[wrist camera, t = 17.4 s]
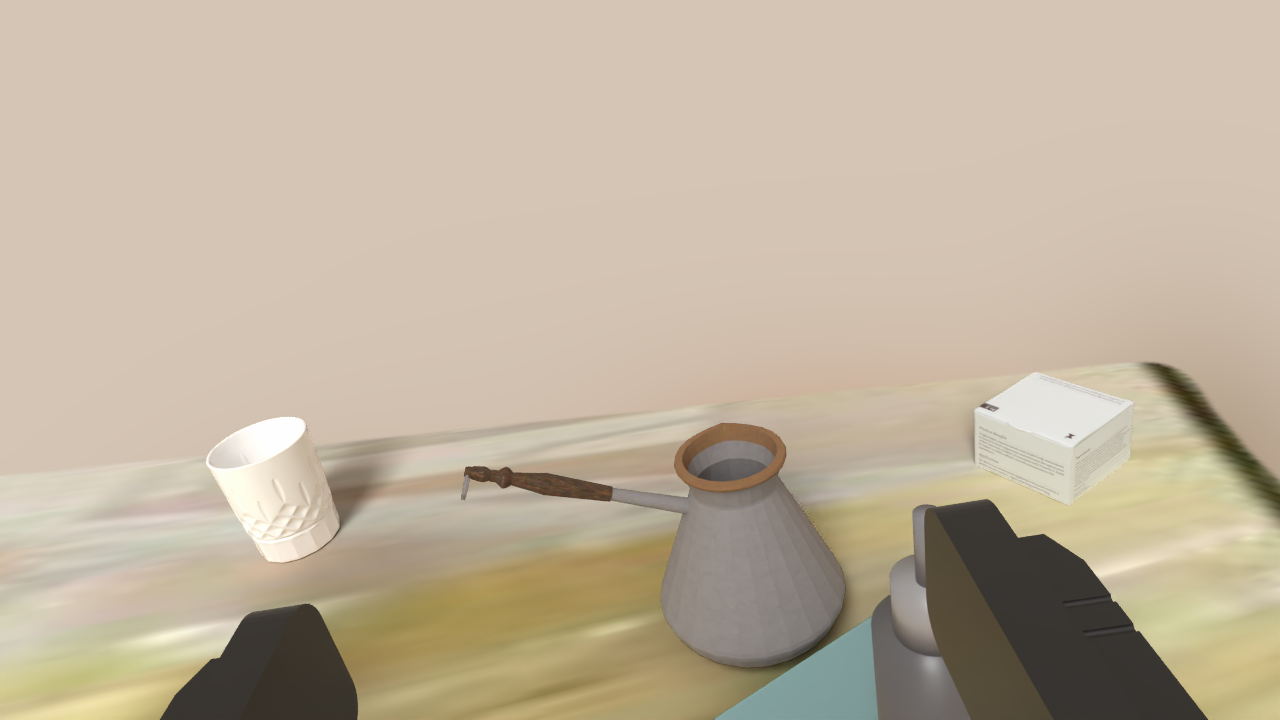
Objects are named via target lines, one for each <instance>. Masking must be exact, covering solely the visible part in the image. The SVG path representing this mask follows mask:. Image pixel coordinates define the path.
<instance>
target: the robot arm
mask: <svg viewBox="0 0 1280 720" xmlns="http://www.w3.org/2000/svg"><path fill="white" fill-rule="evenodd" d="M924 540H925V574H926V602H927V609H928V615H929V620H930V624H931V628H932V632H933V635H934V638H935V641H936V644H937V646H938V649H939V651H940V654H941V656H942V658H943V660H944V662H945V664H946V667H947V669H948V671H949V673H950V675H951V677H952V680H953V682H954V684H955V686H956V688H957V690H958V693H959V695H960V697H961V699H962V701H963V703H964V706H965V708H966V710H967V712H968V714H969V716H970V718H971V720H1208V719H1207V718H1206V716H1205V715H1204V714H1203V712H1202V711H1201V710H1200V709H1199V707H1198V706H1197V705H1196V703H1195V702H1194V701H1193V700H1192V698H1191V697H1190V696H1189V694H1188V693H1187V692H1186V691H1185V689H1184V688H1183V687H1182V685H1181V684H1180V683H1179V682H1178V680H1177V679H1176V678H1175V676H1174V675H1173V674H1172V673H1171V671H1170V670H1169V669H1168V667H1167V666H1166V665H1165V664H1164V662H1163V661H1162V660H1161V658H1160V657H1159V656H1158V655H1157V653H1156V652H1155V651H1154V649H1153V648H1152V647H1151V646H1150V644H1149V643H1148V642H1147V640H1146V639H1145V638H1144V637H1143V635H1142V634H1141V633H1140V632H1139V631H1137V632H1136V631H1135V629H1134V626H1133V623H1132V621H1131V620H1130V619H1129V617H1128V616H1127V615H1126V614H1125V612H1124V611H1123V610H1122V608H1121V607H1120V606H1119V605H1118V603H1117V602H1113V601H1112V599H1111V594H1110V593H1109V592H1108V590H1107V589H1106V588H1105V587H1104V585H1103V584H1102V583H1101V581H1100V580H1099V579H1098V578H1097V576H1096V575H1095V574H1094V572H1093V571H1092V570H1091V569H1090V567H1089V566H1088V565H1087V563H1086V562H1085V561H1084V560H1083V559H1081V558H1080V557H1078V556H1077V555H1075V554H1074V553H1072V552H1071V551H1069V550H1068V549H1066V548H1065V547H1063V546H1061V545H1060V544H1058V543H1057V542H1055V541H1054V540H1052V539H1051V538H1049V537H1048V536H1046V535H1045V534H1040V535H1034V536H1027V537H1021V538H1018V537H1017V536H1016V534H1015V533H1014V532H1013V530H1012V529H1011V527H1010V526H1009V524H1008V523H1007V521H1006V520H1005V519H1004V517H1003V516H1002V514H1001V513H1000V511H999V510H998V508H997V507H996V506H995V505H994V503H992V502H991V501H990V500H987V499H985V500H978V501H972V502H966V503H959V504H953V505H946V506H940V507H934V508H928V509H927V510H926V511H925V515H924ZM357 716H358V702H357V694H356V689H355V685H354V683H353V680H352V678H351V676H350V674H349V672H348V670H347V668H346V666H345V664H344V662H343V660H342V658H341V656H340V654H339V652H338V649H337V647H336V645H335V643H334V641H333V639H332V637H331V635H330V633H329V631H328V629H327V627H326V625H325V623H324V621H323V619H322V617H321V615H320V613H319V611H318V610H317V609H316V608H315V607H314V606H313V605H310V604H302V605H295V606H289V607H282V608H276V609H270V610H263V611H257V612H252V613H250V614H248V615H247V616H246V617H245V618H244V619H243V620H242V621H241V623H240V624H239V626H238V628H237V629H236V631H235V633H234V635H233V636H232V638H231V640H230V641H229V643H228V645H227V646H226V648H225V650H224V652H223V653H222V655H221V657H220V658H216V659H211V660H210V661H209V662H208V663H207V664H206V665H205V666H204V667H203V668H202V669H201V670H200V671H199V672H198V673H197V674H196V675H195V676H194V677H193V678H192V679H191V680H190V681H189V682H188V683H187V684H186V685H185V686H184V687H183V688H182V689H181V690H180V691H179V692H178V693H177V694H176V695H175V696H174V698H173V699H172V701H171V703H170V704H169V706H168V708H167V709H166V711H165V712H164V714H163V716H162V717H161V719H160V720H357Z"/></svg>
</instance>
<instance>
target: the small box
mask: <svg viewBox="0 0 1280 720" xmlns="http://www.w3.org/2000/svg"><path fill="white" fill-rule="evenodd" d="M1133 410H1134V402H1133V401H1130V400H1126V399H1122V398H1119V397H1116V396H1112V395H1109V394H1105V393H1102V392H1099V391H1096V390H1092V389H1089V388H1086V387H1083V386H1079V385H1076V384H1073V383H1069V382H1066V381H1063V380H1060V379H1057V378H1053V377H1050V376H1047V375H1044V374H1041V373H1038V372H1034V373H1032V374H1031V375H1029V376H1027V377H1026V378H1024V379H1022V380H1021V381H1019V382H1018V383H1016V384H1015V385H1013V386H1011V387H1010V388H1008V389H1007V390H1005V391H1004V392H1002V393H1000V394H999V395H997V396H995V397H994V398H992V399H990V400H989V401H987V402H986V403H984V404H982V405H981V406H979V407H978V408H976V409H975V410H974V456H975V465H976V466H978V467H981V468H983V469H985V470H988V471H990V472H992V473H995V474H997V475H999V476H1001V477H1004V478H1006V479H1008V480H1010V481H1013V482H1015V483H1017V484H1020V485H1022V486H1024V487H1027V488H1029V489H1031V490H1033V491H1036V492H1038V493H1040V494H1043V495H1045V496H1047V497H1049V498H1052V499H1054V500H1056V501H1058V502H1061V503H1063V504H1065V505H1067V506H1070V505H1071V504H1072V503H1073V502H1074V501H1076V500H1077V499H1078V498H1079V497H1081V496H1082V495H1083V494H1085V493H1086V492H1088V491H1089V490H1090V489H1092V488H1093V487H1094V486H1096V485H1097V484H1098V483H1100V482H1101V481H1102V480H1104V479H1105V478H1106V477H1108V476H1109V475H1110V474H1112V473H1113V472H1114V471H1116V470H1117V469H1118V468H1120V467H1121V466H1122V465H1124V464H1125V463H1126V462H1128V461H1129V459H1130V448H1131V434H1132V421H1133Z"/></svg>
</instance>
